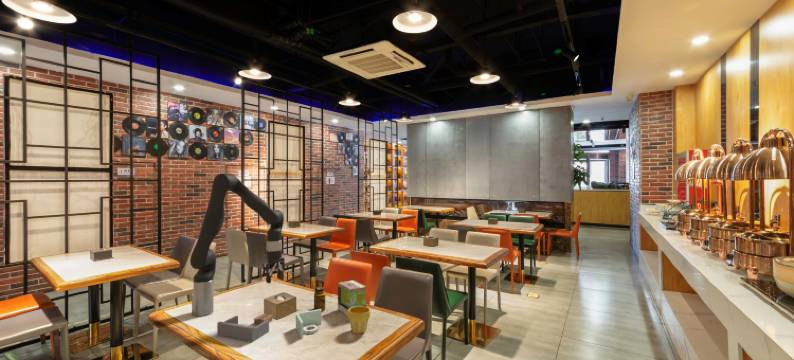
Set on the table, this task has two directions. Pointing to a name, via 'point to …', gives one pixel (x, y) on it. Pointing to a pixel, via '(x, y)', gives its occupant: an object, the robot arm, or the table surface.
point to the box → (241, 330)
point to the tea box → (350, 295)
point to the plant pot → (358, 318)
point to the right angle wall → (308, 322)
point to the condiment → (319, 299)
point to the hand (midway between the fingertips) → (274, 280)
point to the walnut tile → (262, 319)
